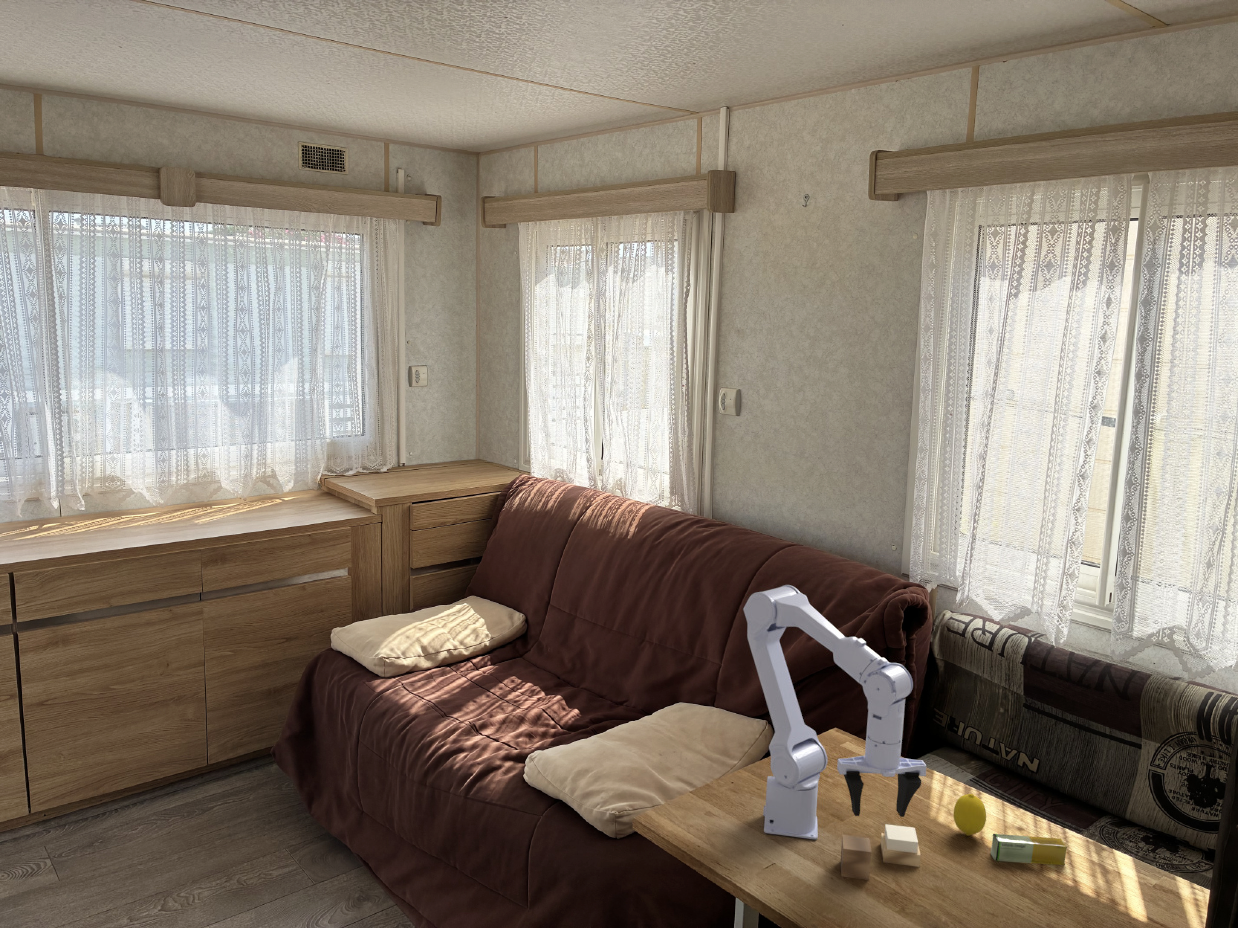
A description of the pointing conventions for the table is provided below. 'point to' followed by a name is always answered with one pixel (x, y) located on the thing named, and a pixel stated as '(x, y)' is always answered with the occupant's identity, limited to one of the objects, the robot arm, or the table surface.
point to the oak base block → (899, 855)
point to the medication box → (1028, 849)
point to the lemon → (969, 814)
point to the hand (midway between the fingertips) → (878, 813)
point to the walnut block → (855, 857)
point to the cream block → (901, 838)
